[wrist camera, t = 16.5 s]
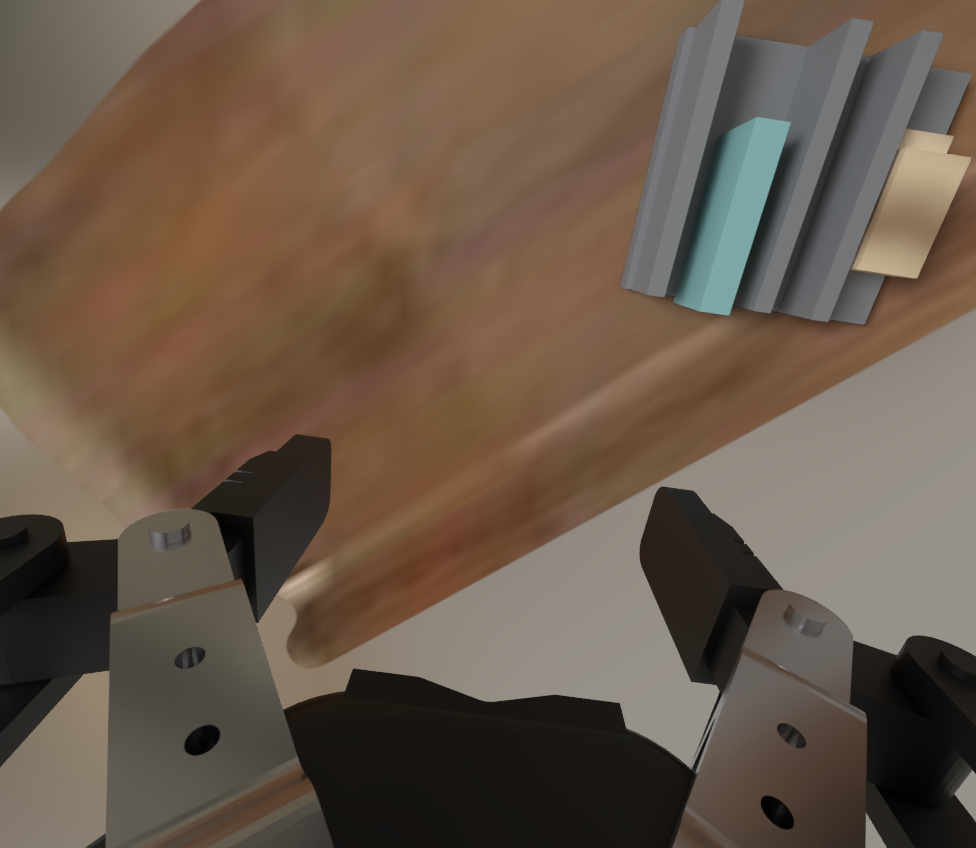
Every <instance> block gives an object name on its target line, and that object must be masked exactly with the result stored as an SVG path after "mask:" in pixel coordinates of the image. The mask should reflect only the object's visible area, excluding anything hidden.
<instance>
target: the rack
mask: <svg viewBox="0 0 976 848" xmlns="http://www.w3.org/2000/svg"><path fill="white" fill-rule="evenodd" d="M744 1H745V0H720V1H719V2H718V3H717V4H716V5H715V7H714V8H713V9H712V10H711V11H710V12H709V13H708V14H707V16H706V17H705V18H704V19H703V20H702V21H701V22H700V23H699V25H698V26H697V27H696V28H691V27H687V28H686V29H685V30H684V32H683V33H682V34H681V35H680V36H679V39H678V44H677V48H676V52H675V56H674V61H673V65H672V69H671V73H670V78H669V82H668V86H667V90H666V95H665V99H664V103H663V107H662V112H661V116H660V120H659V124H658V129H657V133H656V137H655V141H654V146H653V150H652V154H651V158H650V163H649V167H648V171H647V175H646V180H645V184H644V188H643V192H642V197H641V201H640V205H639V209H638V214H637V218H636V222H635V226H634V231H633V235H632V239H631V243H630V248H629V252H628V256H627V260H626V265H625V269H624V273H623V277H622V282H621V286H620V287H622V288H625V289H631V290H634V291H637V292H640V293H643V294H646V295H651V296H658V297H665V295H671V296H675V295H676V291H677V287H678V284H679V280H680V277H681V273H682V269H683V266H684V262H685V258H686V255H687V251H688V247H689V244H690V240H691V236H692V233H693V229H694V225H695V222H696V218H697V215H698V211H699V207H700V204H701V200H702V196H703V193H704V189H705V185H706V182H707V178H708V174H709V171H710V167H711V163H712V160H713V156H714V153H715V149H716V145H717V142H718V138H719V136H720V135H722V134H724V133H726V132H728V131H730V130H732V129H734V128H736V127H738V126H740V125H742V124H744V123H746V122H748V121H750V120H752V119H754V118H756V117H760V118H767V119H773V120H780V121H786V122H791V124H790V127H789V130H788V133H787V136H786V139H785V142H784V146H783V149H782V152H781V155H780V158H779V161H778V164H777V167H776V171H775V174H774V177H773V180H772V183H771V186H770V189H769V193H768V196H767V199H766V202H765V205H764V208H763V211H762V214H761V218H760V221H759V224H758V227H757V230H756V233H755V236H754V240H753V243H752V246H751V249H750V252H749V255H748V258H747V261H746V265H745V268H744V271H743V274H742V277H741V280H740V283H739V286H738V290H737V293H736V296H735V299H734V302H733V306H736V307H740V308H744V309H748V310H752V311H757V312H764V313H770V314H771V311H777V312H781V313H785V314H790V315H794V316H798V317H802V318H806V319H810V320H817V321H823V322H828V321H829V320H836V321H843V322H849V323H856V324H862V325H865V322H866V320H867V318H868V315H869V313H870V311H871V308H872V306H873V304H874V301H875V299H876V297H877V294H878V292H879V290H880V287H881V285H882V283H883V280H884V278H885V275H878V274H872V273H865V272H859V271H852V270H849V269H850V267H851V264H852V262H853V259H854V257H855V254H856V252H857V249H858V247H859V244H860V242H861V239H862V237H863V234H864V232H865V229H866V227H867V224H868V222H869V219H870V217H871V214H872V212H873V209H874V207H875V204H876V202H877V199H878V197H879V194H880V192H881V189H882V187H883V184H884V182H885V179H886V177H887V174H888V172H889V169H890V167H891V164H892V162H893V159H894V157H895V154H896V152H897V149H898V147H899V144H900V142H901V139H902V137H903V134H904V132H905V129H912V130H918V131H924V132H930V133H937V134H943V135H946V134H947V131H948V129H949V127H950V124H951V122H952V120H953V117H954V115H955V113H956V110H957V108H958V106H959V103H960V101H961V99H962V96H963V94H964V92H965V89H966V87H967V85H968V82H969V80H970V78H971V75H972V74H970V73H964V72H958V71H952V70H946V69H940V68H934V67H931V64H932V62H933V59H934V57H935V54H936V52H937V49H938V47H939V44H940V42H941V39H942V37H943V34H944V33H939V32H933V31H927V30H922V31H920V32H918V33H916V34H914V35H912V36H910V37H908V38H906V39H904V40H902V41H900V42H898V43H896V44H894V45H892V46H890V47H888V48H887V49H885V50H883V51H881V52H879V53H877V54H875V55H873V56H871V57H867V56H862V54H863V51H864V48H865V45H866V43H867V40H868V37H869V34H870V31H871V28H872V26H873V23H874V22H873V21H867V20H861V19H855V18H852V19H851V20H849V21H848V22H846V23H844V24H843V25H841V26H840V27H838V28H837V29H835V30H834V31H832V32H831V33H829V34H828V35H826V36H824V37H823V38H821V39H820V40H818V41H817V42H815V43H814V44H812V45H811V46H809V47H807V46H801V45H795V44H788V43H782V42H776V41H770V40H764V39H758V38H752V37H746V36H740V35H735V34H736V31H737V27H738V23H739V20H740V16H741V12H742V9H743V5H744Z"/></svg>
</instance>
